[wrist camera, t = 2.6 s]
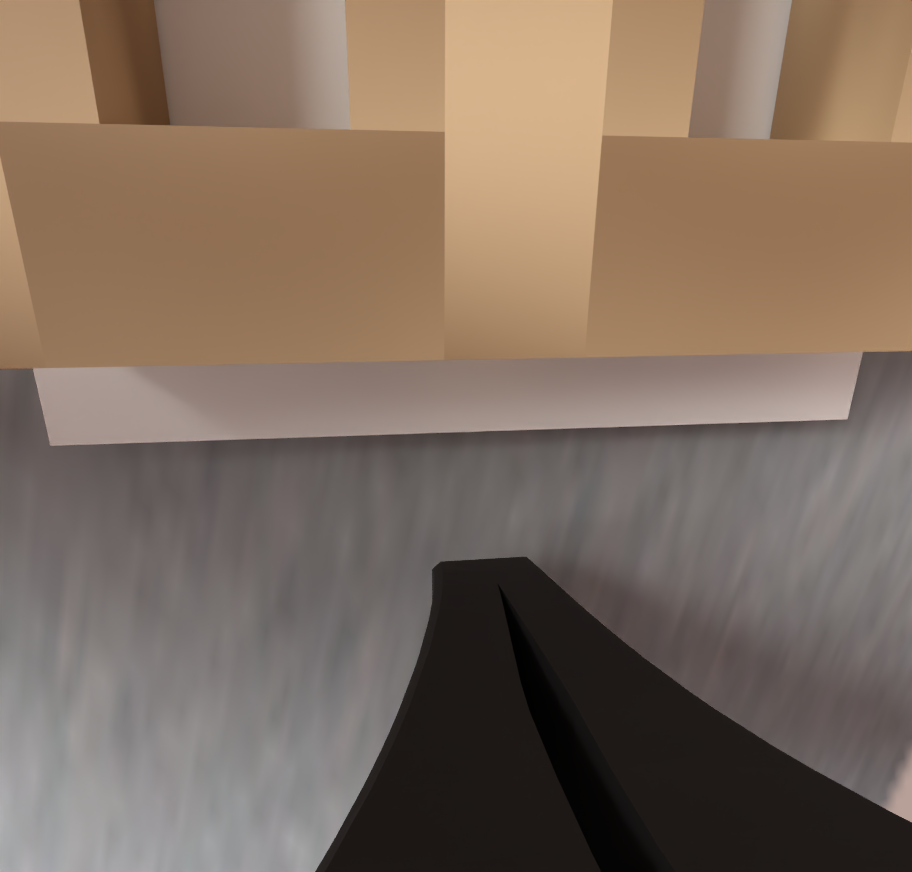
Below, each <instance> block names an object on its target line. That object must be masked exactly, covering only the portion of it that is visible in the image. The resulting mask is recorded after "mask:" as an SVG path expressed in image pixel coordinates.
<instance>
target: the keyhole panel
mask: <svg viewBox="0 0 912 872" xmlns="http://www.w3.org/2000/svg"><path fill="white" fill-rule="evenodd" d="M704 2H705V0H345V15H346V38H347V61H348V83H349V106H350V129H351V130H346V129H302V128H259V127H216V126H173V125H170V120H169V113H168V105H167V98H166V90H165V82H164V75H163V67H162V60H161V52H160V45H159V37H158V29H157V22H156V14H155V7H154V0H0V369H27V368H78V367H128V366H179V365H229V364H280V363H331V362H381V361H432V360H482V359H533V358H584V357H634V356H685V355H735V354H786V353H837V352H887V351H912V0H792V3H791V10H790V16H789V22H788V28H787V34H786V40H785V47H784V53H783V59H782V65H781V71H780V77H779V84H778V90H777V96H776V102H775V108H774V115H773V121H772V127H771V133H770V139H734V138H691V137H688V134H689V125H690V117H691V109H692V101H693V92H694V84H695V76H696V68H697V60H698V51H699V43H700V35H701V27H702V19H703V10H704Z"/></svg>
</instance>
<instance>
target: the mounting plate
mask: <svg viewBox="0 0 912 872" xmlns="http://www.w3.org/2000/svg"><path fill="white" fill-rule="evenodd" d="M791 3H792V0H705V2H704V10H703V19H702V27H701V35H700V43H699V51H698V60H697V68H696V76H695V84H694V92H693V101H692V109H691V117H690V125H689V134H688V137H691V138H734V139H770V133H771V127H772V121H773V115H774V108H775V102H776V96H777V90H778V84H779V77H780V71H781V65H782V59H783V53H784V47H785V40H786V34H787V28H788V22H789V16H790V10H791ZM154 7H155V14H156V22H157V29H158V37H159V45H160V52H161V60H162V67H163V75H164V82H165V90H166V98H167V105H168V113H169V120H170V125H173V126H216V127H259V128H302V129H346V130H351V129H350V106H349V83H348V61H347V38H346V15H345V0H154ZM862 354H863V352H837V353H786V354H735V355H685V356H634V357H584V358H533V359H482V360H432V361H381V362H331V363H280V364H229V365H179V366H128V367H78V368H33V371H34V376H35V380H36V385H37V389H38V394H39V398H40V402H41V407H42V411H43V416H44V420H45V425H46V429H47V433H48V438H49V442H50V446H61V445H91V444H121V443H151V442H181V441H211V440H241V439H271V438H301V437H331V436H361V435H391V434H421V433H451V432H481V431H511V430H541V429H570V428H600V427H630V426H660V425H690V424H720V423H750V422H780V421H810V420H840V419H848V415H849V410H850V406H851V402H852V397H853V393H854V389H855V385H856V380H857V376H858V372H859V367H860V363H861V359H862Z"/></svg>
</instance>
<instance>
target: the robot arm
mask: <svg viewBox="0 0 912 872" xmlns="http://www.w3.org/2000/svg"><path fill="white" fill-rule="evenodd" d="M315 872H912V822H910V821H908V820H906V819H904V818H902V817H900V816H898V815H896V814H894V813H892V812H890V811H888V810H886V809H884V808H882V807H881V806H879V805H877V804H875V803H873V802H871V801H870V800H868V799H866V798H864V797H862V796H860V795H859V794H857V793H855V792H853V791H851V790H850V789H848V788H846V787H844V786H842V785H840V784H839V783H837V782H835V781H833V780H831V779H829V778H828V777H826V776H824V775H822V774H820V773H818V772H817V771H815V770H813V769H811V768H809V767H808V766H806V765H804V764H803V763H801V762H799V761H797V760H796V759H794V758H792V757H791V756H789V755H787V754H786V753H784V752H782V751H780V750H779V749H777V748H775V747H774V746H772V745H770V744H769V743H767V742H766V741H764V740H763V739H761V738H759V737H758V736H756V735H755V734H753V733H752V732H750V731H748V730H747V729H745V728H744V727H742V726H741V725H739V724H737V723H736V722H734V721H733V720H731V719H730V718H728V717H726V716H725V715H723V714H722V713H720V712H719V711H717V710H715V709H714V708H713V707H711V706H710V705H708V704H707V703H705V702H704V701H702V700H701V699H699V698H698V697H696V696H695V695H694V694H692V693H691V692H689V691H688V690H686V689H685V688H684V687H682V686H681V685H680V684H678V683H677V682H676V681H674V680H673V679H672V678H670V677H669V676H668V675H666V674H665V673H663V672H662V671H661V670H659V669H658V668H657V667H655V666H654V665H653V664H651V663H650V662H649V661H647V660H646V659H645V658H643V657H642V656H641V655H640V654H638V653H637V652H636V651H635V650H633V649H632V648H631V647H629V646H628V645H627V644H626V643H624V642H623V641H622V640H621V639H619V638H618V637H617V636H616V635H615V634H613V633H612V632H611V631H610V630H609V629H607V628H606V627H605V626H604V625H603V624H601V623H600V622H599V621H598V620H597V619H596V618H594V617H593V616H592V615H591V614H590V613H589V612H587V611H586V610H585V609H584V608H583V607H582V606H581V605H579V604H578V603H577V602H576V601H575V600H574V599H573V598H572V597H570V596H569V595H568V594H567V593H566V592H565V591H564V590H563V589H561V588H560V587H559V586H558V585H557V584H556V583H555V582H554V581H553V580H552V579H550V578H549V577H548V576H547V575H546V574H545V573H544V572H543V571H542V570H541V569H540V568H538V567H537V566H536V565H535V564H534V563H533V562H532V561H531V560H529V559H528V558H527V557H514V558H496V559H479V560H462V561H445V562H440V563H439V564H438V565H437V566H435V567H434V568H433V569H432V607H431V612H430V617H429V622H428V625H427V629H426V632H425V636H424V640H423V643H422V647H421V651H420V654H419V657H418V660H417V663H416V666H415V669H414V672H413V674H412V677H411V680H410V682H409V685H408V688H407V690H406V693H405V696H404V698H403V701H402V704H401V706H400V709H399V711H398V714H397V716H396V719H395V721H394V723H393V725H392V728H391V730H390V732H389V735H388V737H387V739H386V741H385V743H384V746H383V748H382V750H381V752H380V754H379V756H378V758H377V760H376V762H375V764H374V766H373V768H372V770H371V772H370V774H369V776H368V778H367V780H366V782H365V784H364V786H363V788H362V790H361V792H360V794H359V795H358V797H357V799H356V801H355V803H354V805H353V806H352V808H351V810H350V812H349V814H348V816H347V817H346V819H345V821H344V823H343V825H342V827H341V828H340V830H339V832H338V834H337V836H336V838H335V839H334V841H333V843H332V844H331V846H330V848H329V850H328V851H327V853H326V855H325V856H324V858H323V860H322V861H321V863H320V865H319V866H318V868H317V870H316V871H315Z"/></svg>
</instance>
